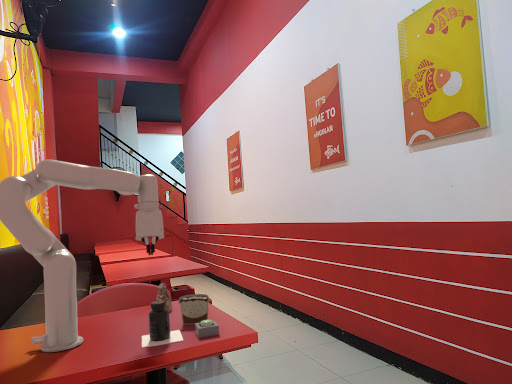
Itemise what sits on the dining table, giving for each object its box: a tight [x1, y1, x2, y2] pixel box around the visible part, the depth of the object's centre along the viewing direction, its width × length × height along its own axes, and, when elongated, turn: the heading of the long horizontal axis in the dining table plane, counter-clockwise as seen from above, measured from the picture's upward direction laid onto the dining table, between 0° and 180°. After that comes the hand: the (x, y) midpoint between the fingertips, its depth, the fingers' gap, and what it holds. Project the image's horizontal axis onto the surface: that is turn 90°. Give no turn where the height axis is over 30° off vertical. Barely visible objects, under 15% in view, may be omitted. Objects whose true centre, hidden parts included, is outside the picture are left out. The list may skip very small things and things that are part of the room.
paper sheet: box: [141, 329, 184, 349], centre depth 122 cm, size 13×12×1 cm
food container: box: [177, 293, 211, 326], centre depth 140 cm, size 12×6×10 cm, turn 84°
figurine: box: [155, 281, 173, 312], centre depth 161 cm, size 7×7×12 cm
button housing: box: [194, 319, 220, 339], centre depth 124 cm, size 7×7×3 cm
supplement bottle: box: [147, 300, 171, 341], centre depth 122 cm, size 7×7×12 cm
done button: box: [201, 319, 213, 327], centre depth 125 cm, size 4×4×3 cm
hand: (150, 254), depth 138 cm, fingers closed
